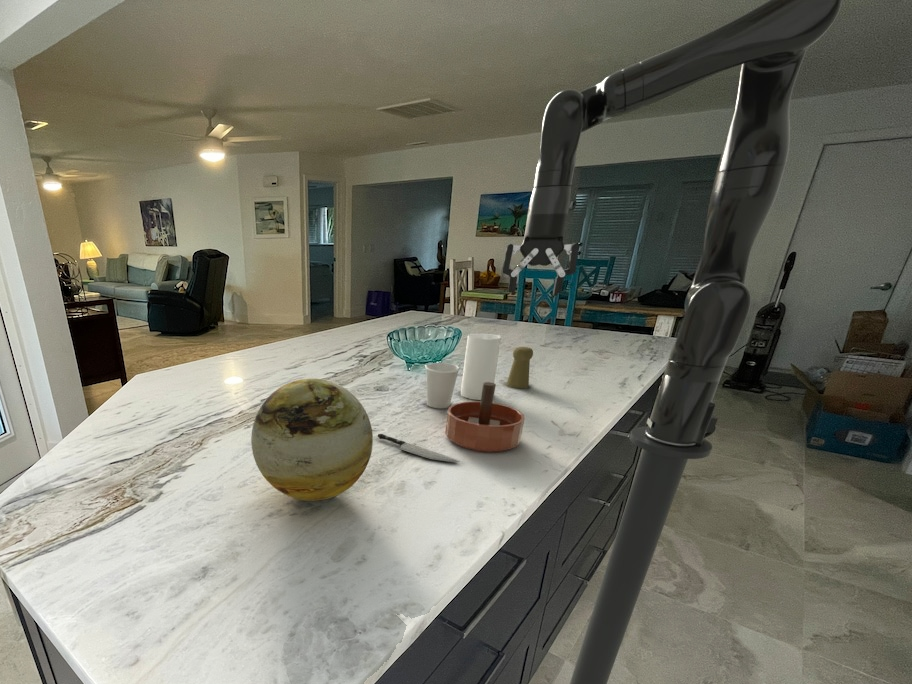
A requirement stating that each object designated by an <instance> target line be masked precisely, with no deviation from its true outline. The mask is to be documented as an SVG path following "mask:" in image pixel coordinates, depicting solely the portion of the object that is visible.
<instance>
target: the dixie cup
mask: <svg viewBox="0 0 912 684" xmlns="http://www.w3.org/2000/svg"><path fill="white" fill-rule="evenodd" d="M424 368H425V378H426V380H425V381H426V405H427V406H428V407H430V408H434V409H448V408H449V407H450V406H451V402H452V398H453V395H454V394H453V393H454V390H455V386H456V382H457V379H458V374H459V371H460V367H459V366H458V365H456V364H453V363H448V362H447V363H446V362H433V363H428V364H426V365H425V366H424Z"/></svg>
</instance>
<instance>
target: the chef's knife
mask: <svg viewBox="0 0 912 684" xmlns="http://www.w3.org/2000/svg"><path fill="white" fill-rule="evenodd" d="M377 437H378V438H379V439H380V440H385V441H389V442H391V443H394V444H397V445H399V446H400V447H399V450H401V451H404V452H408V453H410V454H413V455H416V456H420V457H422V458H426V459H429V460H435V461H442V462H448V463H452V462H453V463H455V462H461V461H460V460H457V459H455V458H453V457H449V456H447V455H444V454H441V453H438V452H436V451H433V450H430V449H426V448H424V447H420V446H418V445H416V444H412V443H408V442H407V441H404V440H401V439H397V438H394V437H391V436H389V435H386V434H383V433H378V434H377Z"/></svg>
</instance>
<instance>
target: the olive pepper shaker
mask: <svg viewBox="0 0 912 684" xmlns="http://www.w3.org/2000/svg"><path fill="white" fill-rule="evenodd" d="M512 356H513V357H512V358H513V361H512V365H511V368H510V371H509V375H508V377H507V380H506V386H507V387H509V388H514V389H528V388H529V384H530V366H531V365H530V364H531V361H530V360H531V359H532V358H533V356H534V350H533V349H532V348H531V347H528V346H517V347H515V348H514V349H513V352H512Z"/></svg>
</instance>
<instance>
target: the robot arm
mask: <svg viewBox="0 0 912 684" xmlns="http://www.w3.org/2000/svg"><path fill="white" fill-rule="evenodd" d="M842 4H843V0H767V1H766V2H764V3H762V4H760V5H759V6H757V7H756V8H753V9H751V10H750V11H748V12H746V13H745V14H742V15H741V16H739V17H737V18H735V19H733V20H731V21H729V22H727V23H724V24H723V25H721V26H720V27H717V28H714V29H713V30H711V31H709V32H707V33H705V34H703V35H700V36H698V37H696V38H693V39H691V40H689V41H687V42H684V43H682V44H680V45H677V46H674V47H672V48H670V49H668V50H665V51H663V52H660V53H658V54H656V55H653V56H650V57H648V58H645V59H643V60H641V61H638V62H636V63H633V64H631V65H628V66H627V67H626V66H625V67H623V68H621V69H619V70H617V71H615V72H613V73H611V74H610V75H608V76H606V77H605V78H604V79H602V80H601V81H600V82H598V83H597V84H595V85H592V86H591V87H588V88H585V89H584V90H582V91H579V90H577V89H574V88H568V89H563V90H561V91H559V92H558V93H557V94H555V95H554V96H553V97H552V98H551V99H550V101H549V102H548V104H547V105H546V106H545V107H546V108H545V110H544V113H543V119H542V126H541V136H540V146H539V155H538V160H537V163H536V164H537V165H536V168H535V172H534V179H533V185H532V191H531V194H530V199H529V201H528V202H529V203H528V208H527V215H526V222H525V228H524V236H523V240H522V242H521V244H513V243H508V244H507V245H506V249H505V255H504V260H503V263H502V269H501V272H502V273H503V274H505V275H507V276H508V277H509V280H508V288H507V290H508V293H510V296H515V295H516V294H515V293H516V288H517V281H518V275H519V273H521V271H522V270H523V269H524V268H525V267H526V266H528V265H529V266H530V267H536V266H543V267H547V266H550V265H551V267H552V268H553V270H554V271H555V273H556V276H555V279H554V283H553V289H552V296H553V297H558V295H559V294H561V293H562V291H563V285H564V282H565V281H564V280H565V278H566V277H567V276H571V275H575V273H576V270H577V263H578V256H579V248H580V244H579V243H577V242H572V243H567V244H566V243H564V236H565V231H566V226H567V220H568V215H569V210H570V205H571V197H572V185H573V181H574V175H575V170H576V161H577V150H578V147H579V143H580V139H581V134H582V133H584V132H585V131H588V130H590V129H592V128H594V127H596V126H598V125H600V124H602V123H604V122H606V121H608V120H612V119H615V118H618V117H622V116H623V115H627V114H630V113H632V112H634V111H637V110H640V109H643V108H645V107H647V106H649V105H650V106H651V105H652V104H654V103H656V102H659V101H661V100H663V99H665V98H668V97H670V96H672V95H674V94H676V93H678V92H680V91H682V90H684V89H686V88H688V87H690V86H692V85H694V84H696V83H699V82H700V81H703V80H705V79H707V78H709V77H712V76H714V75H716V74H719V73H722V72H723V71H727V70H729V69H732V68H735V67H737V66H740V71H739V72H740V73H739V80H738V87H737V94H736V101H735V106H734V110H733V113H732V117H731V120H730V123H729V126H728V129H727V133H726V136H725V139H724V143H723V145H722V150H721V152H720V153H721V154H720V157H719V161H718V165H717V168H716V172H715V175H714V180H713V184H712V190H711V193H710V199H709V204H708V209H707V214H706V221H705V228H704V236H703V244H702V251H701V255H700V258H699V262H698V263H697V267H696V270H695V273H694V276H693V278H692V281H691V284H690V287H689V289H688V291H687V294H686V297H685V300H684V306H683V307H684V312H685V313H684V315H683V318H682V321H681V325H680V328H679V331H678V334H677V337H676V339H675V342H674V344H673V345H672V348H671V350H670V353H669V357H668V360H667V362H666V366H665V369H664V372H663V376H662V379H661V382H660V385H659V389H658V392H657V396H656V398H655V401H654V405H653V408H652V411H651V414H650V417H647V420H646V424H647V426H646V427H647V429H646V431H645V436H646V437H647V438H648V439H650V440H652V441H654V442H657V443H660V444H664V445H668V446H673V447H694V446H696V447H701V444H702V441H703V439H706V438H708V437H709V436H711V435H712V434H714V433H715V431H716V429H717V428H716V427H717V426H716V425H717V422H718V417H717V416H715V415H714V411H715V408H716V406H717V404H716V402H714V401H713V400H714V398H715V395H716V393H717V389H718V387H719V384H720V381H721V378H722V375H723V373H724V370H725V367H726V365H727V362H728V360H729V357H730V356H731V354H732V353H733V352H734V351H735V349H736V346H737V344H738V341H739V338H740V336H741V333H742V330H743V328H744V326H745V323H746V320H747V318H748V315H749V312H750V309H751V305H752V295H751V291H750V290H749V288H748V287H747V286H746V284H745V283H746V276H747V270H748V266H749V261H750V256H751V252H752V250H753V247H754V244H755V242H756V241H757V237H758V235H759V234H760V232H761V230H762V228H763V226H764V224H765V222H766V220H767V218H768V216H769V214H770V212H771V210H772V207H774V203H775V201H776V199H777V196H778V193H779V190H780V187H781V184H782V181H783V177H784V174H785V170H786V166H787V163H788V159H789V153H790V144H791V121H790V116H791V115H790V108H791V99H792V95H793V91H794V88H795V87H794V86H795V84H796V81H797V78H798V75H799V72H800V69H801V66H802V63H803V61H804V58H805V56H806V53H807V51H808V49H809V48H810V47H812V46H813V45H814V44H815V43H816V42H818V41H819V40H820V39H821V38H822V37H823V35H825V34H826V33H827V31H828V30H829V29H830V27H831V26H832V25H833V24H834V22H835V20H836V19H837V17H838V15H839V13H840V11H841V7H842ZM518 251H519V252H520V253H521V255H522V257H523V258H522V259H520V261H519V262H518V263H517V264H516V266H515V267H514V268H513V269H512V268H510V265H511V260H512V256H515V255H516V254H517V252H518ZM563 251H565V254H566V255H568V262H567V268H565V269H564V268H563V266H562V265H561V263H560V260H559V259H558V257H559V255H561V253H562V252H563Z"/></svg>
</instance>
